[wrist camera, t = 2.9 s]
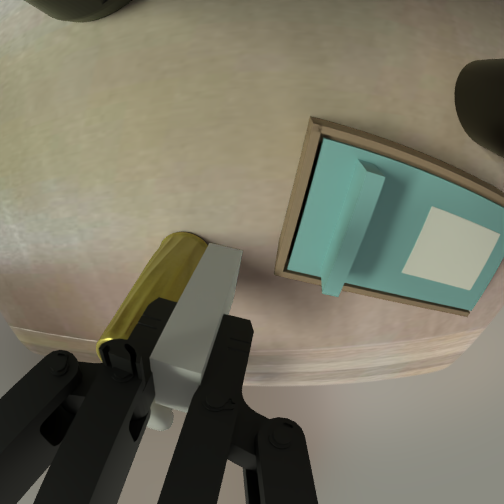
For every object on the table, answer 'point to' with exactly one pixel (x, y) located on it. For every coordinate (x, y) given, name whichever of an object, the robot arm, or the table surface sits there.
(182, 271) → the vase
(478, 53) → the table surface
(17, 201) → the table surface
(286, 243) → the wooden sliding-lid box
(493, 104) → the water bottle
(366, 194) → the lid
